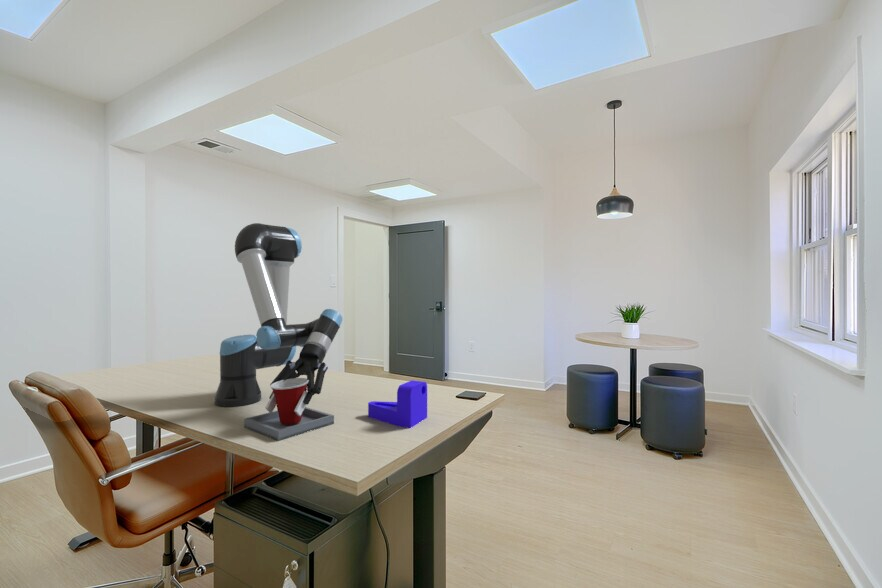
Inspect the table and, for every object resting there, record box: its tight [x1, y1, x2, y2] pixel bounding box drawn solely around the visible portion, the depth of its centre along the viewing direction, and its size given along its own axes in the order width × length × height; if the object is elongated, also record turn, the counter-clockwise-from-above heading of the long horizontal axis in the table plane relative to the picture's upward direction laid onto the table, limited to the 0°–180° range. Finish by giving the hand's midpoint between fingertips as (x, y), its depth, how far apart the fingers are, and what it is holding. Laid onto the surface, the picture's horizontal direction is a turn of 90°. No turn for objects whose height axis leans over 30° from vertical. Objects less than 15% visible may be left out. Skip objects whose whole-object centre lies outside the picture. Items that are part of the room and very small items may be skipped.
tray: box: [243, 406, 335, 442], centre depth 121 cm, size 18×18×2 cm
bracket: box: [367, 380, 428, 429], centre depth 127 cm, size 18×11×12 cm, turn 66°
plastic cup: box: [269, 377, 309, 425], centre depth 121 cm, size 11×11×12 cm
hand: (282, 411), depth 118 cm, fingers closed on plastic cup, 9 cm apart
